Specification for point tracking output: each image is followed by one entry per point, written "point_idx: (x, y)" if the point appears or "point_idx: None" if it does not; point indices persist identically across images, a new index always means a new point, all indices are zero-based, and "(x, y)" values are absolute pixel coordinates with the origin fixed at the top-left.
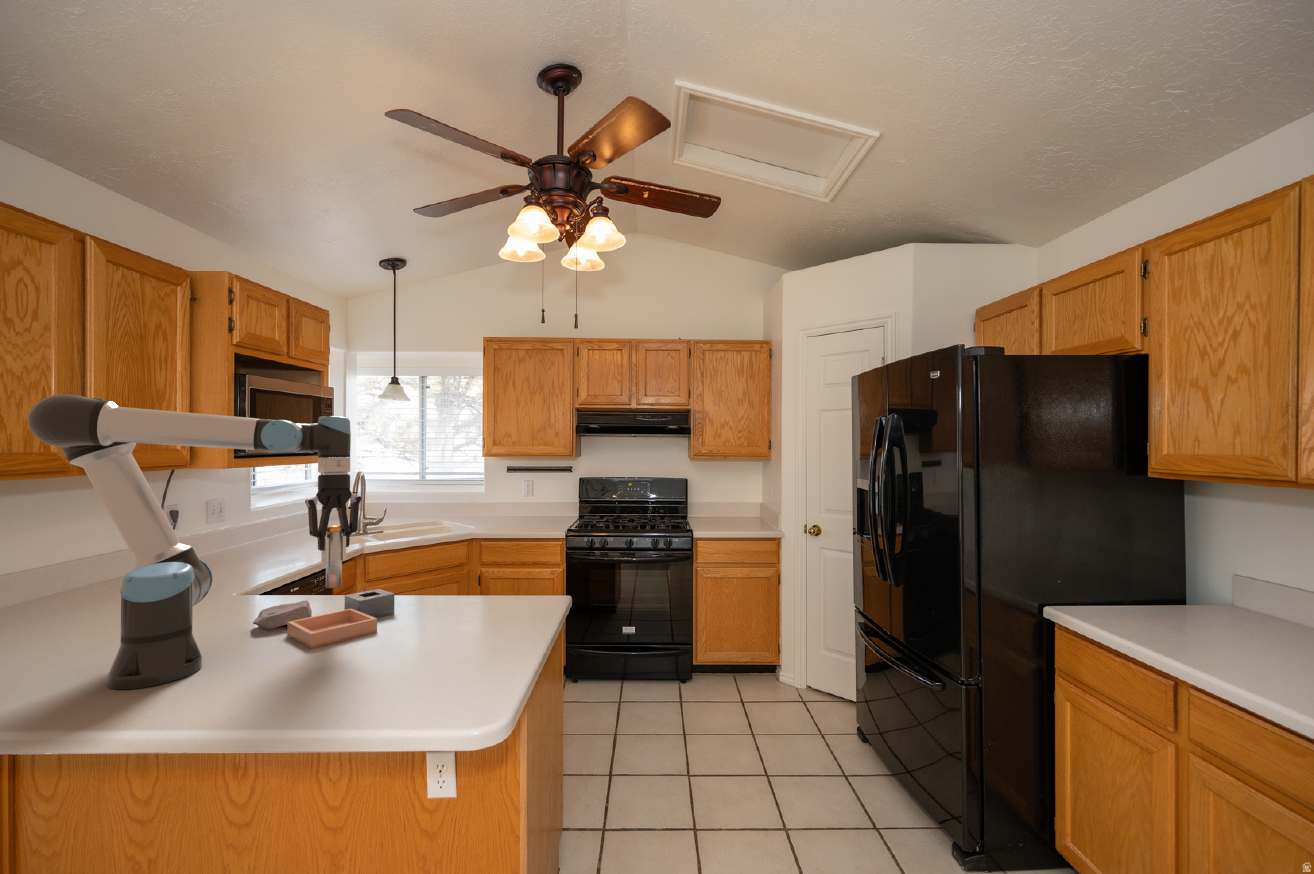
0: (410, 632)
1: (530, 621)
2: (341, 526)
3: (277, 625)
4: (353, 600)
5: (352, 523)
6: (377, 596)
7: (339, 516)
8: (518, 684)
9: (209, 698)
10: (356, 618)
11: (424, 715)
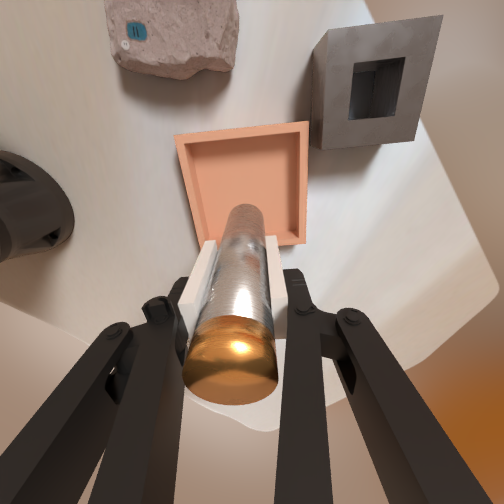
0: (330, 269)
1: (446, 331)
2: (269, 391)
3: (161, 75)
4: (322, 108)
5: (349, 397)
6: (371, 137)
7: (279, 452)
8: None
9: (109, 313)
10: (297, 171)
11: (240, 411)
